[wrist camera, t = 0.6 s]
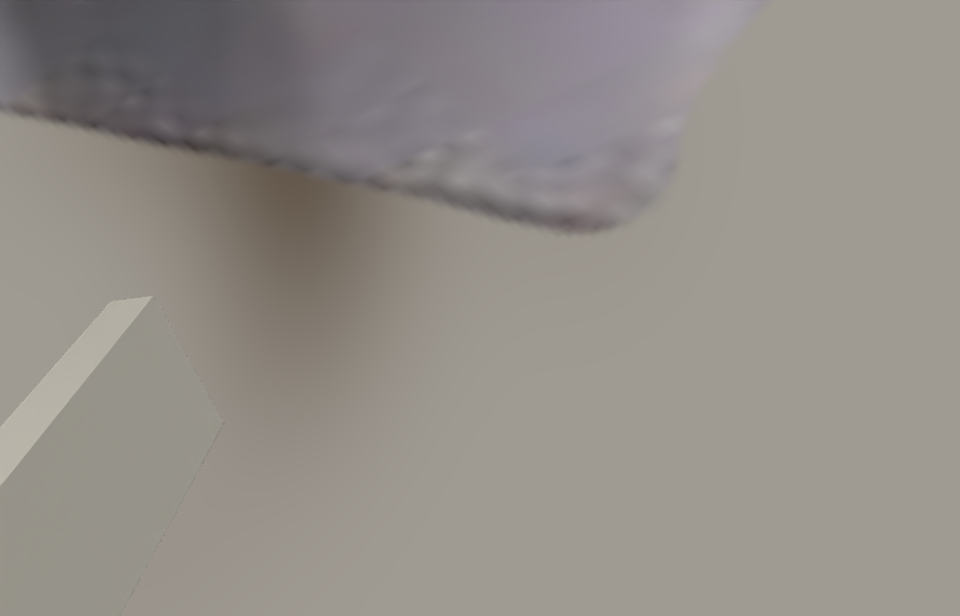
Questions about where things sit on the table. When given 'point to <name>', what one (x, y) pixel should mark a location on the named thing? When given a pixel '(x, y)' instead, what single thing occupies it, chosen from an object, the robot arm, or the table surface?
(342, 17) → the table surface
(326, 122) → the table surface
